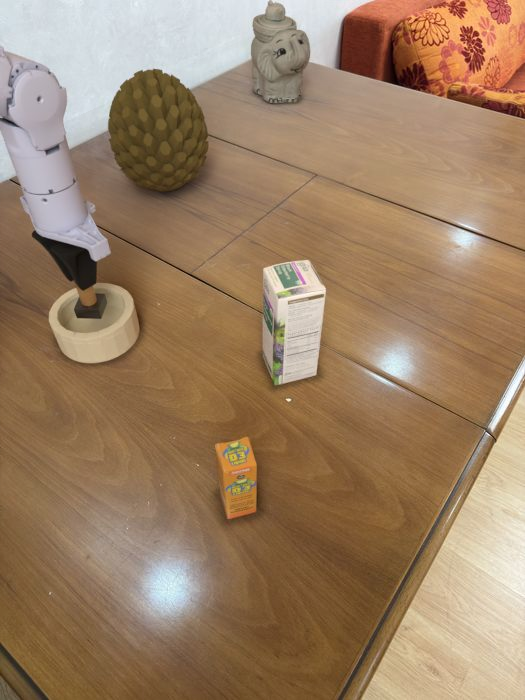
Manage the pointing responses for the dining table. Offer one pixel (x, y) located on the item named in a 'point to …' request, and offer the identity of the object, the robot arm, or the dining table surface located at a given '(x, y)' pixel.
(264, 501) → the dining table surface
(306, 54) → the grey elephant figurine
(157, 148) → the decorative object
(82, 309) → the wooden handle stamp
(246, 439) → the supplement box
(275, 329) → the syrup box
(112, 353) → the cream ceramic ramekin
